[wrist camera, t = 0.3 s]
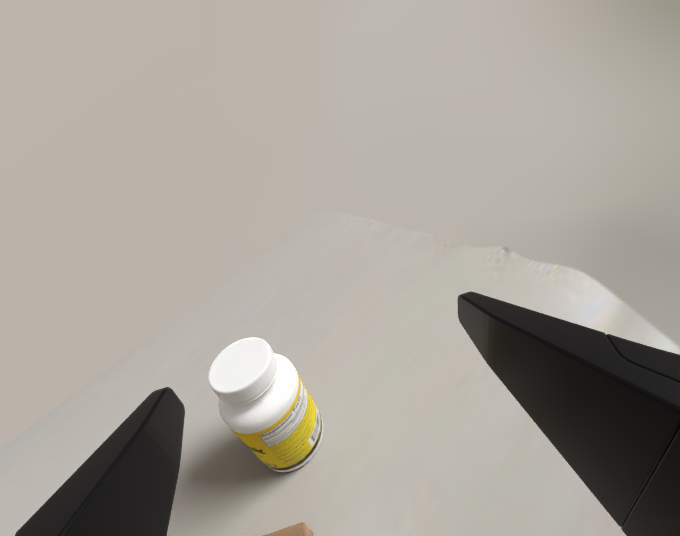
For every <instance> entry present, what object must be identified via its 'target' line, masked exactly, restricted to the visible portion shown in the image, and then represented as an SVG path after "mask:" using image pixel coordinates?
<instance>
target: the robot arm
mask: <svg viewBox="0 0 680 536" xmlns="http://www.w3.org/2000/svg"><path fill="white" fill-rule="evenodd" d="M458 318H459V321H460V323H461V324H462V326H463V327H464V329H465V330H466V332H467V334H468V335H469V337H470V338H471V340H472V341H473V343H474V344H475V346H476V347H477V349H478V350H479V352H480V354H481V355H482V357H483V358H484V360H485V361H486V362H487V364H488V365H489V366H490V368H491V369H492V370H493V371H494V373H495V374H496V375H497V376H498V378H499V379H500V380H501V381H502V383H503V384H504V385H505V386H506V387H507V389H508V390H509V391H510V392H511V394H512V395H513V396H514V397H515V398H516V400H517V401H518V402H519V403H520V405H521V406H522V407H523V408H524V410H525V411H526V412H527V413H528V414H529V416H530V417H531V418H532V419H533V421H534V422H535V423H536V424H537V426H538V427H539V428H540V429H541V430H542V432H543V433H544V434H545V435H546V437H547V438H548V439H549V440H550V442H551V443H552V444H553V445H554V446H555V448H556V449H557V450H558V451H559V453H560V454H561V455H562V456H563V458H564V459H565V460H566V461H567V462H568V464H569V465H570V466H571V467H572V469H573V470H574V471H575V472H576V474H577V475H578V476H579V477H580V478H581V480H582V481H583V482H584V483H585V485H586V486H587V487H588V488H589V489H590V491H591V492H592V493H593V494H594V496H595V497H596V498H597V499H598V501H599V502H600V503H601V504H602V505H603V507H604V508H605V509H606V510H607V512H608V513H609V514H610V515H611V517H612V518H613V519H614V520H615V521H616V523H617V524H618V525H619V526H620V527H621V529H622V530H623V532H624V533H625V534H626V535H627V536H680V355H678V354H675V353H671V352H667V351H664V350H660V349H656V348H653V347H649V346H646V345H643V344H639V343H636V342H633V341H629V340H626V339H623V338H619V337H616V336H613V335H610V334H607V335H606V334H605V333H603V332H600V331H597V330H594V329H590V328H587V327H584V326H581V325H578V324H574V323H571V322H568V321H565V320H561V319H558V318H555V317H552V316H549V315H545V314H542V313H539V312H536V311H533V310H529V309H526V308H523V307H520V306H517V305H513V304H510V303H507V302H504V301H500V300H497V299H494V298H491V297H488V296H484V295H481V294H478V293H475V292H467V293H464V294H461V295H459V296H458ZM184 416H185V409H184V405H183V403H182V402H181V401H180V399H179V398H178V397H177V395H176V394H175V393H174V391H173V390H172V389H171V388H169V387H165V388H162V389H159V390H156V391H154V392H152V393H151V394H150V395H149V396H148V397H147V398H146V399H145V400H144V401H143V402H142V403H141V404H140V406H139V407H138V408H137V409H136V410H135V411H134V412H133V413H132V414H131V415H130V416H129V417H128V418H127V419H126V420H125V421H124V422H123V423H122V424H121V425H120V426H119V427H118V428H117V429H116V430H115V431H114V432H113V433H112V434H111V435H110V436H109V437H108V439H107V440H106V441H105V442H104V443H103V444H102V445H101V446H100V447H99V448H98V449H97V450H96V451H95V452H94V453H93V454H92V455H91V456H90V457H89V458H88V459H87V460H86V461H85V462H84V463H83V464H82V465H81V466H80V467H79V468H78V469H77V471H76V472H75V473H74V474H73V475H72V476H71V477H70V478H69V479H68V480H67V481H66V482H65V483H64V484H63V485H62V486H61V487H60V488H59V489H58V490H57V491H56V492H55V493H54V494H53V495H52V496H51V497H50V498H49V499H48V500H47V501H46V502H45V504H44V505H43V506H42V507H41V508H40V509H39V510H38V511H37V512H36V513H35V514H34V515H33V516H32V517H31V518H30V519H29V520H28V521H27V522H26V523H25V524H24V525H23V526H22V527H21V528H20V529H19V530H18V531H17V532H16V534H15V536H166V535H167V530H168V525H169V520H170V515H171V509H172V504H173V499H174V494H175V489H176V484H177V479H178V473H179V467H180V459H181V449H182V438H183V427H184Z"/></svg>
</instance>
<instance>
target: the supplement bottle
mask: <svg viewBox="0 0 680 536" xmlns="http://www.w3.org/2000/svg"><path fill="white" fill-rule="evenodd" d="M208 380H209V384H210V387H211V388H212V389H213V391H214V392H215V393H216V394H217V396H218V397H219V411H220V414H221V417H222V419H223V420H224V422H225V423H226V424H227V426H228V427H229V428H230V429H231V430H232V431H233V432H234V433H235V434H236V435H237V436H238V437H239V438H240V439H241V440H242V441H243V442H244V444H245V445H246V446H247V447H248V448H249V449H250V450H251V451H252V452H253V453H254V454H255V455H256V456H257V457H258V458H259V459H260V460H261V461H262V462H263V463H264V464H265V465H266V466H267V467H269V468H270V469H272V470H274V471H277V472H290V471H293V470H296V469H298V468H300V467H301V466H303V465H304V464H306V463H307V462H308V461H309V460H310V459H311V458H312V457H313V455H314V454H315V453H316V451H317V449H318V447H319V445H320V443H321V440H322V436H323V421H322V417H321V415H320V413H319V411H318V409H317V407H316V405H315V403H314V402H313V400H312V398H311V396H310V394H309V393H308V391H307V389H306V387H305V386H304V384H303V382H302V380H301V378H300V376H299V374H298V373H297V371H296V369H295V367H294V366H293V364H292V363H291V362H290V361H289V360H288V359H287V358H286V357H284V356H282V355H279V354H275V353H274V352H273V351H272V349H271V348H270V346H269V344H268V343H267V342H266V341H264V340H263V339H260V338H255V337H251V338H245V339H241V340H239V341H236V342H234V343H233V344H231V345H229V346H228V347H227V348H225V349H224V350H223V351H222V352H221V353H220V354H219V355H218V356H217V357H216V359H215V360H214V362H213V363H212V365H211V367H210V370H209V375H208Z"/></svg>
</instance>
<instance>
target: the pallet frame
mask: <svg viewBox="0 0 680 536" xmlns="http://www.w3.org/2000/svg"><path fill="white" fill-rule="evenodd" d="M264 536H313V532H312V531H311V530H310V529H309V528H308V527H307V526H306V525H305V524H304V523H303V522H302V523H299V524H296V525H294V526H291V527H288V528H285V529H282V530H279V531H276V532H273V533H270V534H267V535H264Z"/></svg>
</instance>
